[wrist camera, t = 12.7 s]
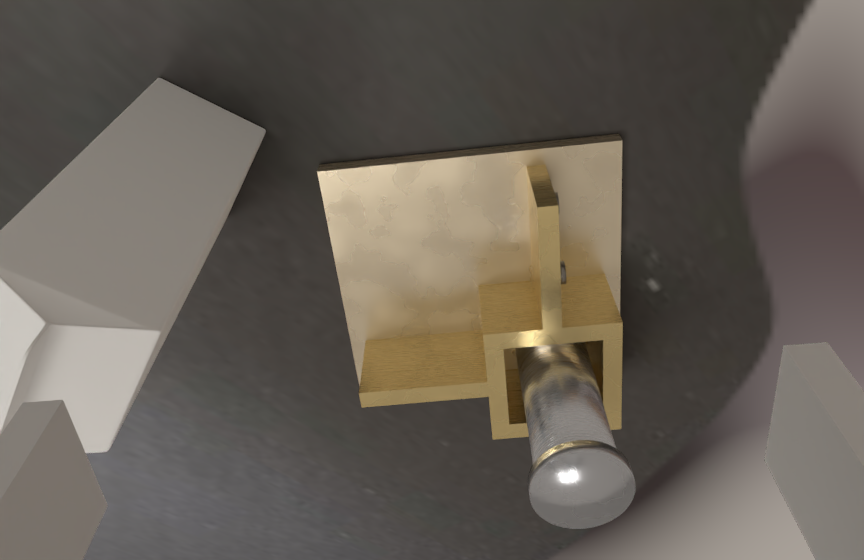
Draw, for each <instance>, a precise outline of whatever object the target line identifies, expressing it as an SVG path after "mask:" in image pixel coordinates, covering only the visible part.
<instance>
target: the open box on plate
mask: <svg viewBox="0 0 864 560" xmlns="http://www.w3.org/2000/svg"><path fill="white" fill-rule="evenodd" d="M317 174H318V179H319V184H320V189H321V194H322V199H323V204H324V209H325V214H326V219H327V224H328V229H329V234H330V239H331V244H332V249H333V254H334V260H335V265H336V270H337V275H338V280H339V285H340V290H341V295H342V300H343V305H344V310H345V315H346V320H347V325H348V330H349V335H350V340H351V345H352V350H353V356H354V361H355V366H356V371H357V376H358V381H359V386H360V388H359V396H360V401H361V406H362V407H373V406H385V405H397V404H409V403H420V402H432V401H444V400H456V399H467V398H479V397H489V406H490V416H491V427H492V437H493V439H505V438H517V437H529V434H528V427H527V421H526V415H525V408H524V402H523V396H522V389H521V383H520V377H519V370H518V364H517V358H516V351H515V348H520V347H531V346H542V345H553V344H565V343H576V342H585V344H586V347H587V351H588V354H589V357H590V361H591V364H592V368H593V371H594V375H595V378H596V381H597V385H598V388H599V392H600V395H601V399H602V402H603V405H604V409H605V412H606V416H607V419H608V423H609V426H610V429H611V430H615V429H621V406H622V343H623V322H622V319H621V316H620V279H621V206H622V139H621V137H620V135H619V134H611V135H601V136H591V137H582V138H572V139H562V140H553V141H543V142H533V143H524V144H514V145H504V146H495V147H485V148H475V149H465V150H456V151H446V152H436V153H427V154H417V155H407V156H398V157H388V158H378V159H368V160H359V161H349V162H339V163H330V164H320V165H319V168H318V171H317Z"/></svg>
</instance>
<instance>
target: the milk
mask: <svg viewBox="0 0 864 560" xmlns="http://www.w3.org/2000/svg"><path fill="white" fill-rule="evenodd" d="M265 133H266V130H265V129H264V128H262V127H260V126H258V125H256V124H254V123H251V122H249V121H247V120H245V119H243V118H241V117H239V116H237V115H235V114H233V113H231V112H229V111H227V110H225V109H223V108H221V107H219V106H217V105H215V104H213V103H211V102H209V101H207V100H205V99H203V98H201V97H198V96H196V95H194V94H192V93H190V92H188V91H186V90H184V89H182V88H180V87H178V86H176V85H174V84H172V83H170V82H168V81H166V80H164V79H162V78H157V79H156V80H155V81H154V82H153V83H152V84H151V85H150V86H149V87H148V88H147V89H146V90H145V91H144V92H143V93H142V94H141V95H140V96H139V97H138V98H137V99H136V100H135V101H134V102H133V103H131V104H130V105H129V106H128V107H127V108H126V109H125V110H124V111H123V112H122V113H121V114H120V115H119V116H118V117H117V118H116V119H115V120H114V121H113V122H112V123H111V124H110V125H109V126H108V127H107V128H106V129H105V130H104V131H103V132H102V133H100V134H99V135H98V136H97V137H96V138H95V139H94V140H93V141H92V142H91V143H90V144H89V145H88V146H87V147H86V148H85V149H84V150H83V151H82V152H81V153H80V154H79V155H78V156H77V157H76V158H75V159H74V160H73V161H72V162H70V163H69V164H68V165H67V166H66V167H65V168H64V169H63V170H62V171H61V172H60V173H59V174H58V175H57V176H56V177H55V178H54V179H53V180H52V181H51V182H50V183H49V184H48V185H47V186H46V187H45V188H44V189H43V190H42V191H41V192H39V193H38V194H37V195H36V196H35V197H34V198H33V199H32V200H31V201H30V202H29V203H28V204H27V205H26V206H25V207H24V208H23V209H22V210H21V211H20V212H19V213H18V214H17V215H16V216H15V217H14V218H13V219H12V220H11V221H9V222H8V223H7V224H6V225H5V226H4V227H3V228H2V229H1V230H0V435H1V434H2V432H3V431H4V429H5V428H6V426H7V425H8V423H9V422H10V421H11V419H12V418H13V416H14V415H15V413H16V412H17V410H18V409H19V407H20V406H21V404H22V403H25V402H39V401H52V400H63V401H64V403H65V406H66V408H67V410H68V413H69V415H70V417H71V420H72V422H73V425H74V427H75V429H76V432H77V434H78V436H79V439H80V441H81V443H82V446H83V448H84V451H85V453H97V452H106V451H108V450H109V449H110V447H111V446H112V444H113V442H114V440H115V438H116V436H117V434H118V432H119V430H120V428H121V426H122V424H123V422H124V420H125V418H126V416H127V414H128V412H129V410H130V408H131V406H132V404H133V402H134V400H135V398H136V396H137V394H138V392H139V390H140V388H141V386H142V385H143V383H144V381H145V379H146V377H147V375H148V373H149V371H150V369H151V367H152V365H153V363H154V361H155V359H156V357H157V355H158V353H159V351H160V349H161V347H162V345H163V343H164V341H165V339H166V337H167V335H168V333H169V331H170V329H171V327H172V325H173V323H174V321H175V319H176V318H177V316H178V314H179V312H180V310H181V308H182V306H183V304H184V302H185V300H186V298H187V296H188V294H189V292H190V290H191V288H192V286H193V284H194V282H195V280H196V278H197V276H198V274H199V272H200V270H201V268H202V266H203V264H204V262H205V260H206V258H207V256H208V254H209V252H210V250H211V249H212V247H213V245H214V243H215V241H216V239H217V237H218V235H219V233H220V231H221V229H222V227H223V225H224V223H225V221H226V219H227V217H228V215H229V212H230V210H231V208H232V206H233V204H234V201H235V199H236V197H237V195H238V193H239V190H240V188H241V186H242V184H243V182H244V179H245V177H246V175H247V173H248V171H249V168H250V166H251V164H252V162H253V160H254V157H255V155H256V153H257V151H258V149H259V147H260V144H261V142H262V140H263V138H264V136H265Z"/></svg>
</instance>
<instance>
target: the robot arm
mask: <svg viewBox="0 0 864 560" xmlns="http://www.w3.org/2000/svg"><path fill="white" fill-rule="evenodd" d="M764 461H765V463H766V465H767V467H768V468H769V470H770V472H771V474H772V476H773V478H774V480H775V482H776V484H777V486H778V488H779V490H780V492H781V494H782V496H783V497H784V500H785V501H786V503H787V505H788V507H789V509H790V511H791V513H792V515H793V517H794V519H795V521H796V522H797V525H798V527H799V529H800V530H801V533H802V534H803V536H804V538H805V540H806V542H807V544H808V546H809V548H810V550H811V552H812V554H813V556H814V558H815V560H864V391H863V389H862V388H861V387H860V385H859V384H858V383H857V382H856V380H855V379H854V377H853V376H852V375H851V373H850V372H849V371H848V369H847V368H846V367H845V365H844V364H843V363H842V362H841V360H840V359H839V358H838V356H837V355H836V353H835V352H834V351H833V349H832V348H831V347H830V346H829V344H828V343H827V342H826V343H825V342H824V343H811V344H798V345H784V346H783V351H782V357H781V363H780V369H779V375H778V381H777V387H776V393H775V399H774V405H773V411H772V417H771V423H770V429H769V435H768V442H767V447H766V453H765V459H764ZM107 506H108V505H107V503H106V500H105V498H104V496H103V493H102V491H101V488H100V486H99V484H98V481H97V479H96V477H95V474H94V472H93V470H92V467H91V465H90V462H89V460H88V458H87V455H86V453H85V451H84V448H83V446H82V443H81V441H80V439H79V436H78V434H77V432H76V429H75V427H74V425H73V422H72V420H71V417H70V415H69V413H68V410H67V408H66V406H65V403H64V401H63V400H52V401H39V402H25V403H22V404H21V406H20V407H19V409H18V410H17V412H16V413H15V415H14V416H13V418H12V419H11V421H10V422H9V423H8V425H7V426H6V428H5V429H4V431H3V432H2V434H1V435H0V560H83V558H84V556H85V554H86V551H87V549H88V547H89V545H90V543H91V541H92V538H93V536H94V534H95V532H96V530H97V528H98V526H99V523H100V521H101V519H102V517H103V515H104V513H105V510H106V508H107Z"/></svg>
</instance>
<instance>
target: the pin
mask: <svg viewBox="0 0 864 560" xmlns="http://www.w3.org/2000/svg"><path fill="white" fill-rule="evenodd" d="M515 351H516V358H517V364H518V370H519V377H520V383H521V389H522V396H523V402H524V408H525V415H526V421H527V427H528V434H529V440H530V446H531V453H532V459H533V465H532V467H531V469H530V472H529V475H528V489H529V496H530V502H531V504H532V507H533V508H534V510H535V511H536V513H537V514H538V515H539V516H540V517H541V518H543V519H544V520H546V521H547V522H549V523H551V524H554V525H556V526H560V527H564V528H571V529H584V528H591V527H596V526H599V525H602V524H605V523H607V522H609V521H611V520H613V519H615V518H616V517H618V516H619V515H620V514H621V513H623V512H624V511H625V510H626V508H628V506H629V505H630V503H631V502H632V500H633V497H634V494H635V488H636V487H635V480H634V476H633V473H632V470H631V466H630V464H629V462H628V460H627V458H626V457H625V456H624V455H623V454H622V453H621V452H620V451H619V450H618V449H616V447H615V443H614V440H613V436H612V433H611V429H610V426H609V423H608V419H607V416H606V412H605V409H604V405H603V402H602V399H601V395H600V392H599V388H598V385H597V381H596V378H595V375H594V371H593V368H592V364H591V361H590V357H589V354H588V351H587V347H586V344H585V342H576V343H565V344H553V345H542V346H531V347H520V348H515Z"/></svg>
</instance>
